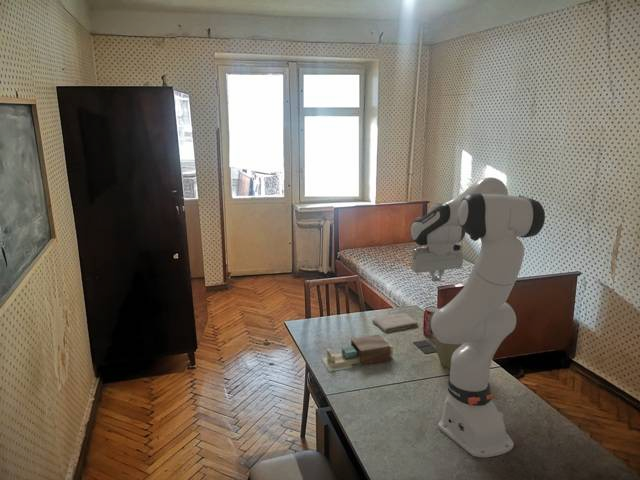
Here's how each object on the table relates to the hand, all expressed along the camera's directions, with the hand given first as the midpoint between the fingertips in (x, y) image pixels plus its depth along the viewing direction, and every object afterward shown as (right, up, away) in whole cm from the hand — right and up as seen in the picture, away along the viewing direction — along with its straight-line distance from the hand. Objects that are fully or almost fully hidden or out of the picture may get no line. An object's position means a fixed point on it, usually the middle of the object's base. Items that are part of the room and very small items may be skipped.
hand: (436, 281), depth 174 cm
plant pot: (+6, -32, +1) cm, 32 cm away
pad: (-38, -32, +3) cm, 49 cm away
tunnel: (-24, -31, +7) cm, 40 cm away
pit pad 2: (0, -29, +12) cm, 31 cm away
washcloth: (-10, -24, +36) cm, 44 cm away
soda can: (+4, -26, +25) cm, 36 cm away
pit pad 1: (-2, -28, +17) cm, 33 cm away
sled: (-29, -31, +5) cm, 42 cm away
